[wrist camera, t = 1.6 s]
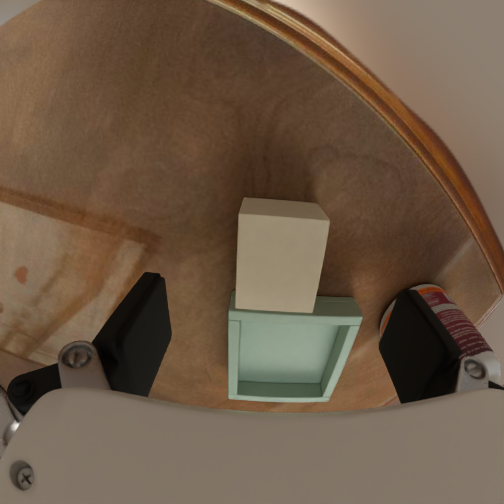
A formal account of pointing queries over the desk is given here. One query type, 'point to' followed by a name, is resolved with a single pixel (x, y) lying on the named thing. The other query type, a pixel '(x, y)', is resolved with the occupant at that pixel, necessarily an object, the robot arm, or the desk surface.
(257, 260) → the beige block
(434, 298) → the pill bottle
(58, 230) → the desk surface
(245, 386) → the shallow square green tray
